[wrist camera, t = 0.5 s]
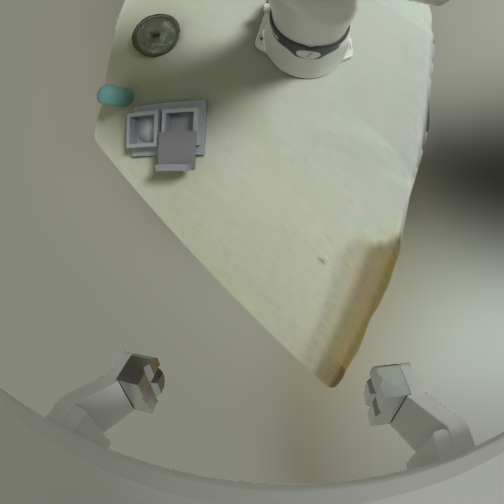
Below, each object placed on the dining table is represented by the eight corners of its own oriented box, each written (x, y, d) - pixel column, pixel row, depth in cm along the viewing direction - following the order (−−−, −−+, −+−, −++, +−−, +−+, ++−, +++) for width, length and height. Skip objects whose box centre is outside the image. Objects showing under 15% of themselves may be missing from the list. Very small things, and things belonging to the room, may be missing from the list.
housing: (134, 156, 51) (124, 157, 47) (136, 106, 47) (125, 105, 43) (204, 154, 50) (198, 155, 46) (207, 100, 46) (201, 97, 42)
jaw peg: (118, 91, 46) (97, 86, 39) (133, 88, 46) (113, 82, 38) (117, 107, 47) (96, 105, 40) (132, 105, 47) (111, 101, 40)
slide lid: (159, 169, 47) (152, 171, 45) (160, 132, 45) (152, 131, 42) (195, 169, 47) (189, 171, 44) (196, 130, 44) (190, 129, 41)
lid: (173, 11, 38) (164, 3, 33) (189, 39, 41) (181, 31, 36) (133, 37, 41) (122, 31, 36) (146, 66, 43) (135, 60, 39)
